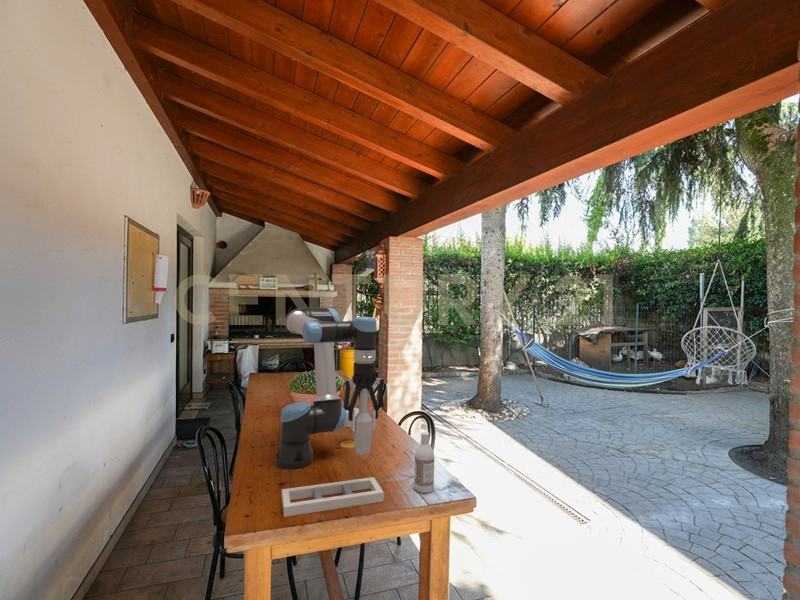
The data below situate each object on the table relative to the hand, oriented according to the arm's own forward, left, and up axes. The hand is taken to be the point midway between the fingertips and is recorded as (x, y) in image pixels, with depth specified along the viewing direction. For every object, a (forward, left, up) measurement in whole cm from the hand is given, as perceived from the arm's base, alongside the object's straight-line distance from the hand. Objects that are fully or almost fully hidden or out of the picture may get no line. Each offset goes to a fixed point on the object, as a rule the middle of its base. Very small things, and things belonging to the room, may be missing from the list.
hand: (363, 429), depth 134 cm
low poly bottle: (0, 0, -8) cm, 8 cm away
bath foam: (+19, +12, -23) cm, 32 cm away
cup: (-24, +43, -23) cm, 54 cm away
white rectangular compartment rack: (-8, -6, -23) cm, 25 cm away
